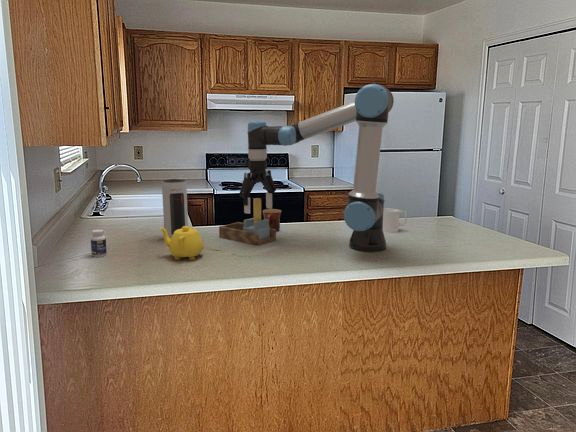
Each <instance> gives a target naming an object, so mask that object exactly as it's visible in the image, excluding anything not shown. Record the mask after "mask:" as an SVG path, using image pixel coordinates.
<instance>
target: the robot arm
mask: <svg viewBox="0 0 576 432" xmlns="http://www.w3.org/2000/svg"><path fill="white" fill-rule="evenodd" d="M394 103H395V102H394V95H393V93H392V91H391V90H390V89H388V87H386V86H383V85H381V84H379V83H377V84H376V83H370V84H366V85H364V86H362V87H361V88H359V90H358V91H357V93H356V94H355V97H354V101H352V102H349V103H346V104H344V105H341V106H339V107H336V108H333V109H330V110H327V111H325V112H322V113H319V114H317V115H314V116H312V117H310V118H306V119H304V120H301V121H298V122H296V123H293V124H290V125H273V126H269V125H267V121H261V120H260V121H259V120H258V121H257V120H256V121H254V120H253V121H249V122H248V123H247V144H248V145H247V146H248V148H247V149H248V150H247V151H248V164H247V165H248V170H249V172H244V173H243V174H244V175H243V180H242V184H241V187H240V191H239V194H238V196H239V197H241V198H242V204H243V206H244V207H243V209H244V210H243V212H244V214H251V197H249V196H250V195H251V192H252V191H253V189H254V188H255V185H257V183H258V184H259V183H261V185H262V186H263V188H264V189H265V191H266V193H265V206H266V207H265V208H266V209H273V194H275V193H276V192H277V188H276V185H275V182H274V179H273V177H272V170H269V169H267V168H268V167H267V166H268V161H267V158H268V154H267V153H268V149H267V148H268V147H267V146H284V147H286V146H293V145H295V144H298V143H300V142H302V141H304V140H306V139H309V138H312V137H315V136H318V135H320V134H323V133H326V132H330V131H331V130H332V131H333V130H335V129H337V128H341V127H343V126H346V125H348V124H351V123H355V122H356V124H357V125H358V136H357V147H356V155H355V167H354V176H353V184H352V186H353V187H352V190H350V192H348V196H347V205H346V207H345V208H344V212H343V220H344V223H345V224H346V225H347V226H348V227H349V228H350V229H351V230H352V233H351V235H350V239H349V240H348V241H349V244H348V246H349V248H350V249H353V250H355V251H361V252H372V253H373V252H380V251H384V250H386V249H387V241H386V238H385V234H384V233H385V232H383V212H384V209H385V195H384V194H383V193H381V192H377V183H378V182H377V181H378V173H379V166H380V165H379V163H380V156H381V155H380V154H381V145H382V136H383V128H384V127H385V126H386V125H387V124H388V119H389V113H390V112H391V110H392V108H393V106H394Z"/></svg>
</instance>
